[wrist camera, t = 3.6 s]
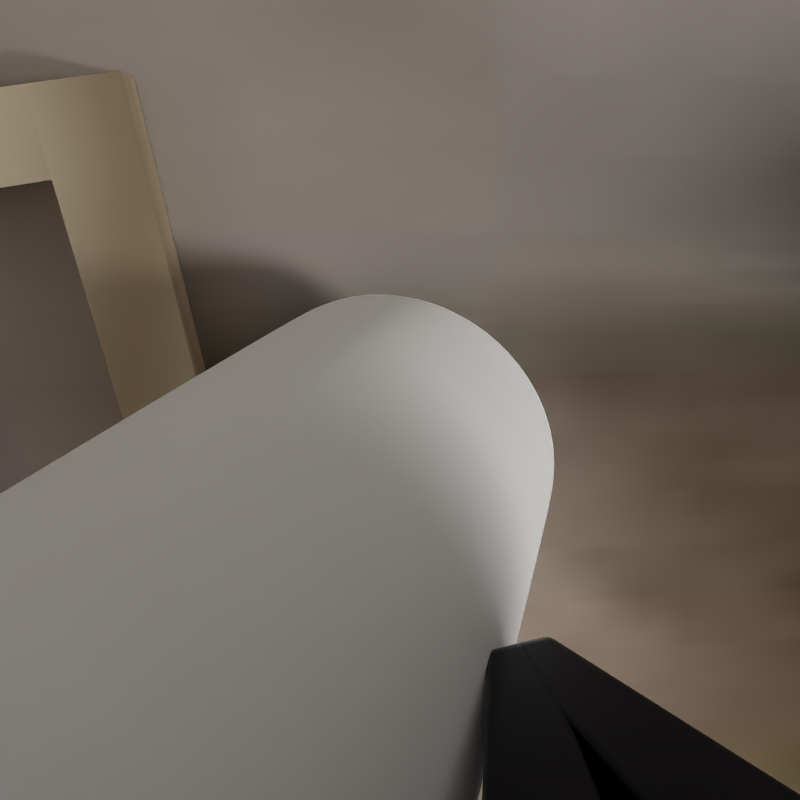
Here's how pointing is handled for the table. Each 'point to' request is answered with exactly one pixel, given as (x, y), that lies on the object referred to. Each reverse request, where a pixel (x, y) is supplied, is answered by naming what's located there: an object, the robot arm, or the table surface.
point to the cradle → (108, 223)
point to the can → (279, 572)
